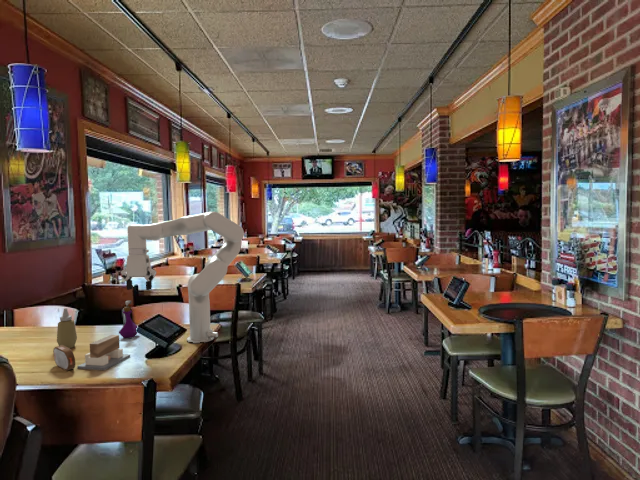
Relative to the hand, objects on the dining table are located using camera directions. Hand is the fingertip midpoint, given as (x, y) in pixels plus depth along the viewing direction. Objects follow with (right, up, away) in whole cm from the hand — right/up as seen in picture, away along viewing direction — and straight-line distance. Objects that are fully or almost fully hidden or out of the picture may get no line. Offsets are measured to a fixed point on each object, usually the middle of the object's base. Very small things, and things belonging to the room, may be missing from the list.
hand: (139, 289), depth 197 cm
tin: (-19, -29, -25) cm, 42 cm away
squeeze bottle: (-34, -27, +3) cm, 44 cm away
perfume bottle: (-12, -26, +18) cm, 34 cm away
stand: (-6, -28, -20) cm, 34 cm away
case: (-6, -24, -19) cm, 31 cm away
